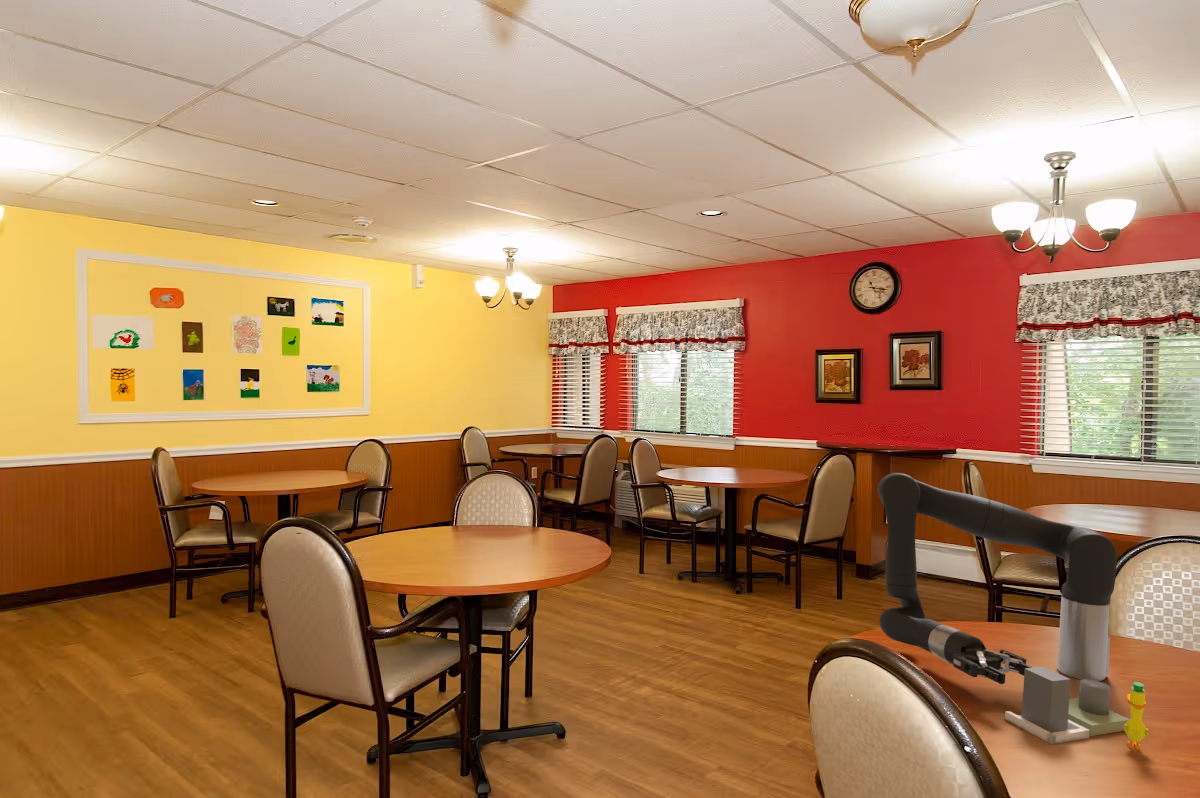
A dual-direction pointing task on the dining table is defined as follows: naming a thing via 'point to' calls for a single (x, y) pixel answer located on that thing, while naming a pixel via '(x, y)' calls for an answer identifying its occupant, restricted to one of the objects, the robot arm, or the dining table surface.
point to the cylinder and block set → (1080, 716)
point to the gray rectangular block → (1046, 699)
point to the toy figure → (1136, 716)
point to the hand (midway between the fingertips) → (1020, 677)
